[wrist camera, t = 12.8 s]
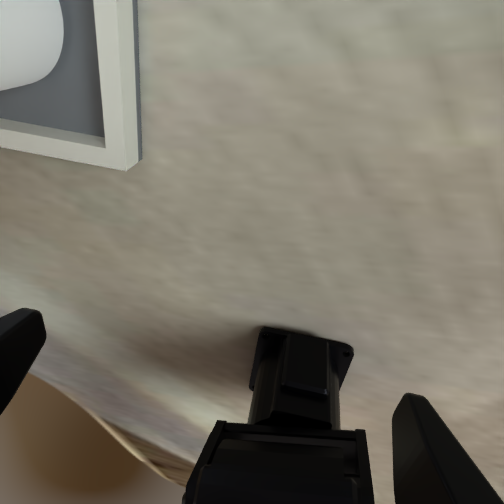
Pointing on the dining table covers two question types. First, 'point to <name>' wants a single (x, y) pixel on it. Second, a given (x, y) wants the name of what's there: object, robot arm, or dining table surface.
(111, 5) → the square tray
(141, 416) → the dining table surface
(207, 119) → the dining table surface
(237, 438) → the robot arm
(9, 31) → the can
